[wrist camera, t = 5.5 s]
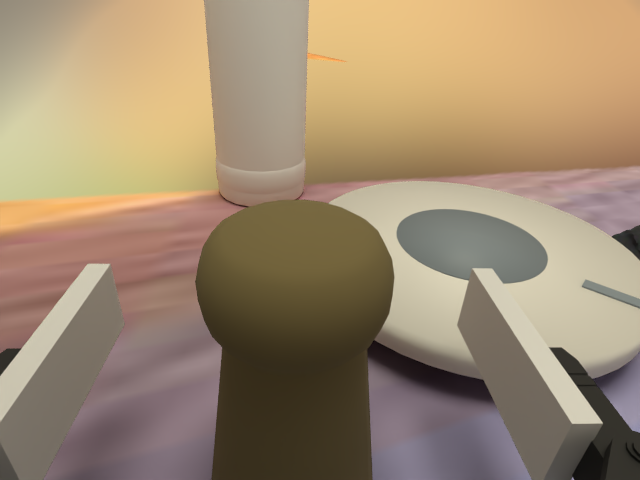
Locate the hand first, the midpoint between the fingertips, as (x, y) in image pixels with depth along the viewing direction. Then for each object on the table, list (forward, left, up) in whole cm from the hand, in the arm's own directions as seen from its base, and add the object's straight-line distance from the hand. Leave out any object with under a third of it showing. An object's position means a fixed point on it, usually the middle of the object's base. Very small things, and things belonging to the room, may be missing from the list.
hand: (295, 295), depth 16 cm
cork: (+2, -2, -6) cm, 7 cm away
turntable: (+1, +15, -5) cm, 15 cm away
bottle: (-19, +16, -6) cm, 25 cm away
